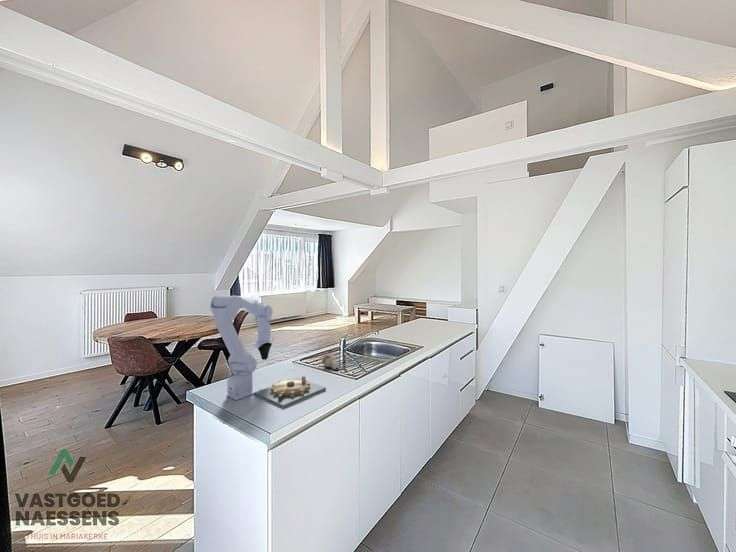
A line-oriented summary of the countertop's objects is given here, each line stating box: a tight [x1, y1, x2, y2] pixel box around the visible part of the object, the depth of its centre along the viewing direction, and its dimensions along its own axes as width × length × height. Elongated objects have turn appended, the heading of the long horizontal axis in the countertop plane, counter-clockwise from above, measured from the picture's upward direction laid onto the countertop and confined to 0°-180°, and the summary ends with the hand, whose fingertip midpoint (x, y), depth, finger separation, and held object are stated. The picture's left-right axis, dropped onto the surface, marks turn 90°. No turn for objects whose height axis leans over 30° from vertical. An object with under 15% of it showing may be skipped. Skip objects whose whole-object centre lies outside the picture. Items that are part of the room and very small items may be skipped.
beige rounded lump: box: [321, 352, 342, 370], centre depth 165 cm, size 8×10×10 cm
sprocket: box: [270, 375, 311, 397], centre depth 131 cm, size 16×16×5 cm
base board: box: [253, 377, 327, 409], centre depth 131 cm, size 22×20×3 cm
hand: (264, 359), depth 145 cm, fingers closed
